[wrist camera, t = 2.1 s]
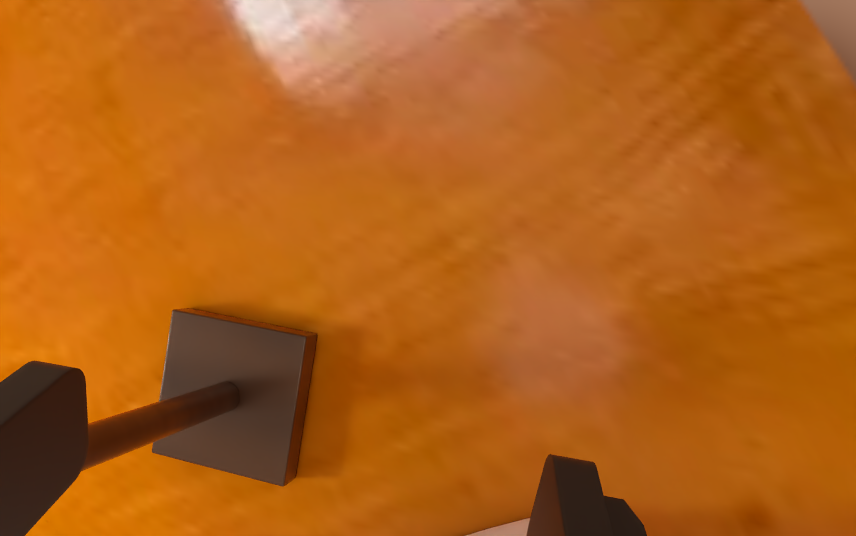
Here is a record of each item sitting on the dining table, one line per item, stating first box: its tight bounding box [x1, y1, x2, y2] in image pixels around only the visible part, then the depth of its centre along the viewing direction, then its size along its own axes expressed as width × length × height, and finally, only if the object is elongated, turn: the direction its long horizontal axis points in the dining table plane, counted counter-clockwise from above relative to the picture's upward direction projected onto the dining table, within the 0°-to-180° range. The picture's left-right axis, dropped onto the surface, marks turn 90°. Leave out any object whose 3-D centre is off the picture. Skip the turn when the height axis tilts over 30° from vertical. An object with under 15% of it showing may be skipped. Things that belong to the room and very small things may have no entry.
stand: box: [81, 308, 317, 486], centre depth 28 cm, size 8×8×14 cm
